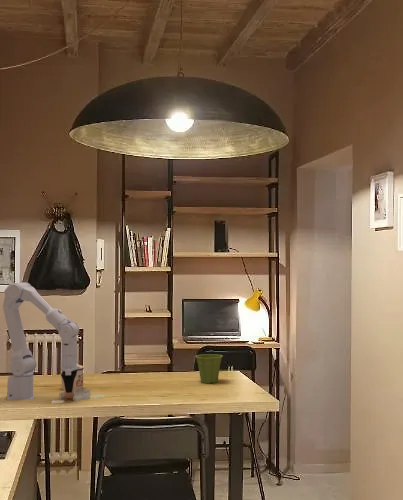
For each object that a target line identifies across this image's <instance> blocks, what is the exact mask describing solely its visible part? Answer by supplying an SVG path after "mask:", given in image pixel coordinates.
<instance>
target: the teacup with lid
mask: <svg viewBox="0 0 403 500" xmlns="http://www.w3.org/2000/svg"><path fill="white" fill-rule="evenodd" d="M77 366H80V369H76V370H77V373H76V374H77V375H76V377H75V379H74V390H84V365H80V364H78V363H77ZM62 372H63V370H61V373H62ZM61 390H62V391H63V392H64V381H63V378H62V377H61Z"/></svg>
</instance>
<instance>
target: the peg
mask: <svg viewBox="0 0 403 500" xmlns="http://www.w3.org/2000/svg"><path fill="white" fill-rule="evenodd" d="M63 392H64V397H66V398H67V399H69V398H73V396H74V383H73V390H72V393H66V390H65V385H64V391H63Z"/></svg>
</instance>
